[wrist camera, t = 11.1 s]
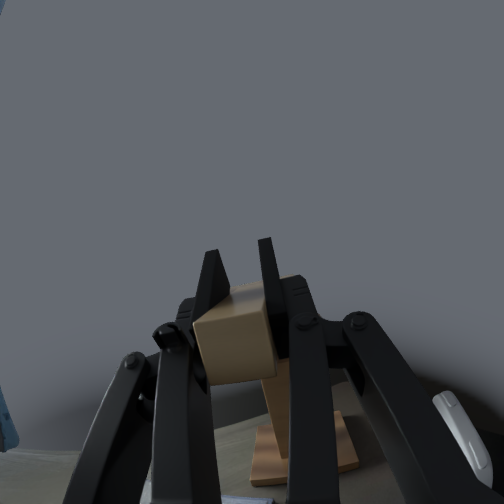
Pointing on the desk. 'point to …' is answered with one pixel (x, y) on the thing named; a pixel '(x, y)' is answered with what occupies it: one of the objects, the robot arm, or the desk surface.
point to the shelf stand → (277, 434)
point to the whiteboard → (227, 501)
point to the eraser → (238, 337)
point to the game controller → (465, 435)
